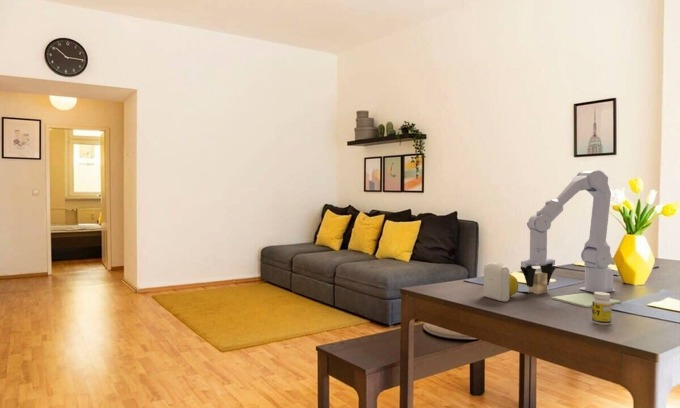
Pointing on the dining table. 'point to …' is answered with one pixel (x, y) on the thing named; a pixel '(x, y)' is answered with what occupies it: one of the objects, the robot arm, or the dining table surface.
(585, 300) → the felt mat
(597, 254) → the robot arm
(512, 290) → the lemon
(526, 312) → the dining table surface
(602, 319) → the supplement bottle
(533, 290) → the birch block
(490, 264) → the photo printer
